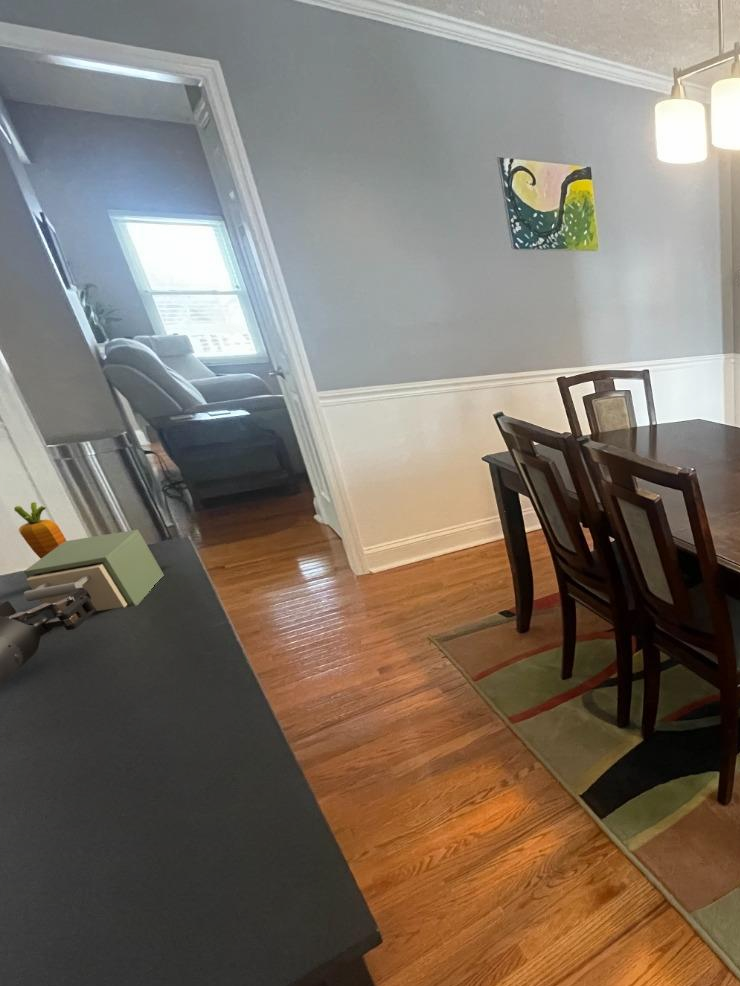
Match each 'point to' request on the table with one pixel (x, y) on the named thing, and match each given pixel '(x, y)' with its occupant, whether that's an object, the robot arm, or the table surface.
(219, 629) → the table surface
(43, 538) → the carrot
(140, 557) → the cabinet
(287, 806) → the table surface
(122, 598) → the drawer
